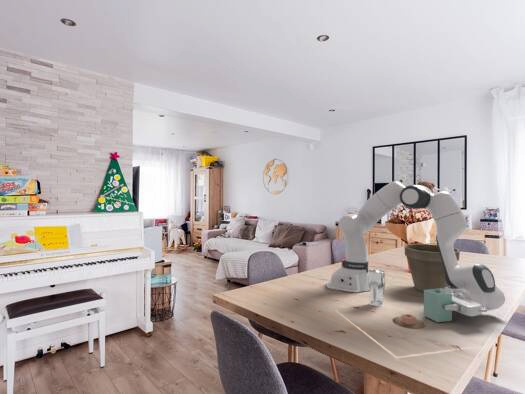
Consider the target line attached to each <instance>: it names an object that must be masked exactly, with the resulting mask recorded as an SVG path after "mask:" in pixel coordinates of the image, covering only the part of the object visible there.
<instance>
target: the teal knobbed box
mask: <svg viewBox="0 0 525 394" xmlns="http://www.w3.org/2000/svg"><path fill="white" fill-rule="evenodd" d="M443 304H448V305H452V294H451V293H448V292H446V291H443V290H440V289H439V288H435V289H429V290H424V292H423V316H424V317H426V318H428V319H430V320H432V321H434V322H436V323H443V322H450V321H453V310H445V309H443Z"/></svg>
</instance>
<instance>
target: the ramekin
mask: <svg viewBox="0 0 525 394" xmlns="http://www.w3.org/2000/svg"><path fill="white" fill-rule="evenodd" d="M400 315H401V316H400V317H402V322H404V323H406V324H408V325H409V324H416V319H417V318H416V316H414V315H413V314H410V313H405V314H400Z"/></svg>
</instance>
